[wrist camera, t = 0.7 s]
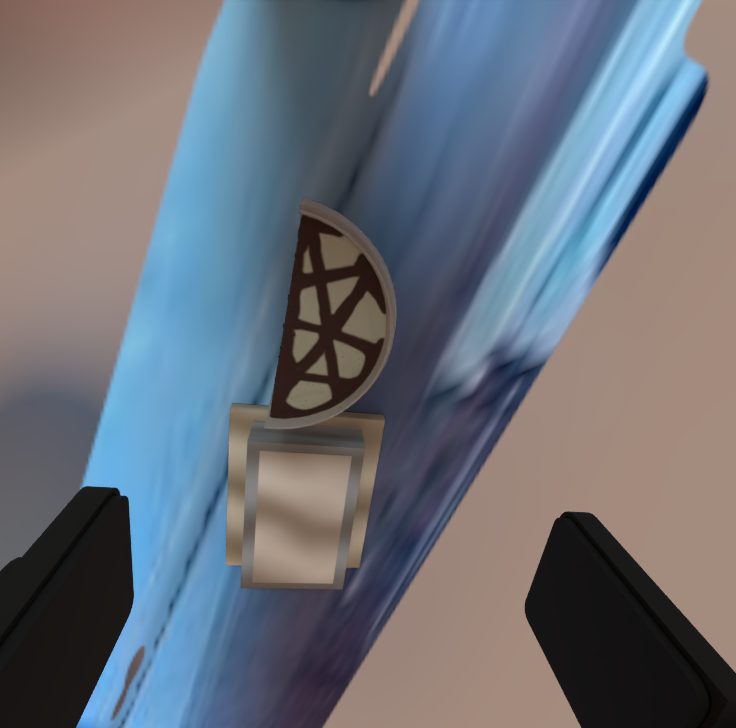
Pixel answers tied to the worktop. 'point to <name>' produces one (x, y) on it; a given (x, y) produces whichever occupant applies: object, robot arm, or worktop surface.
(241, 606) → the worktop surface
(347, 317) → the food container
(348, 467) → the beige rectangular frame
